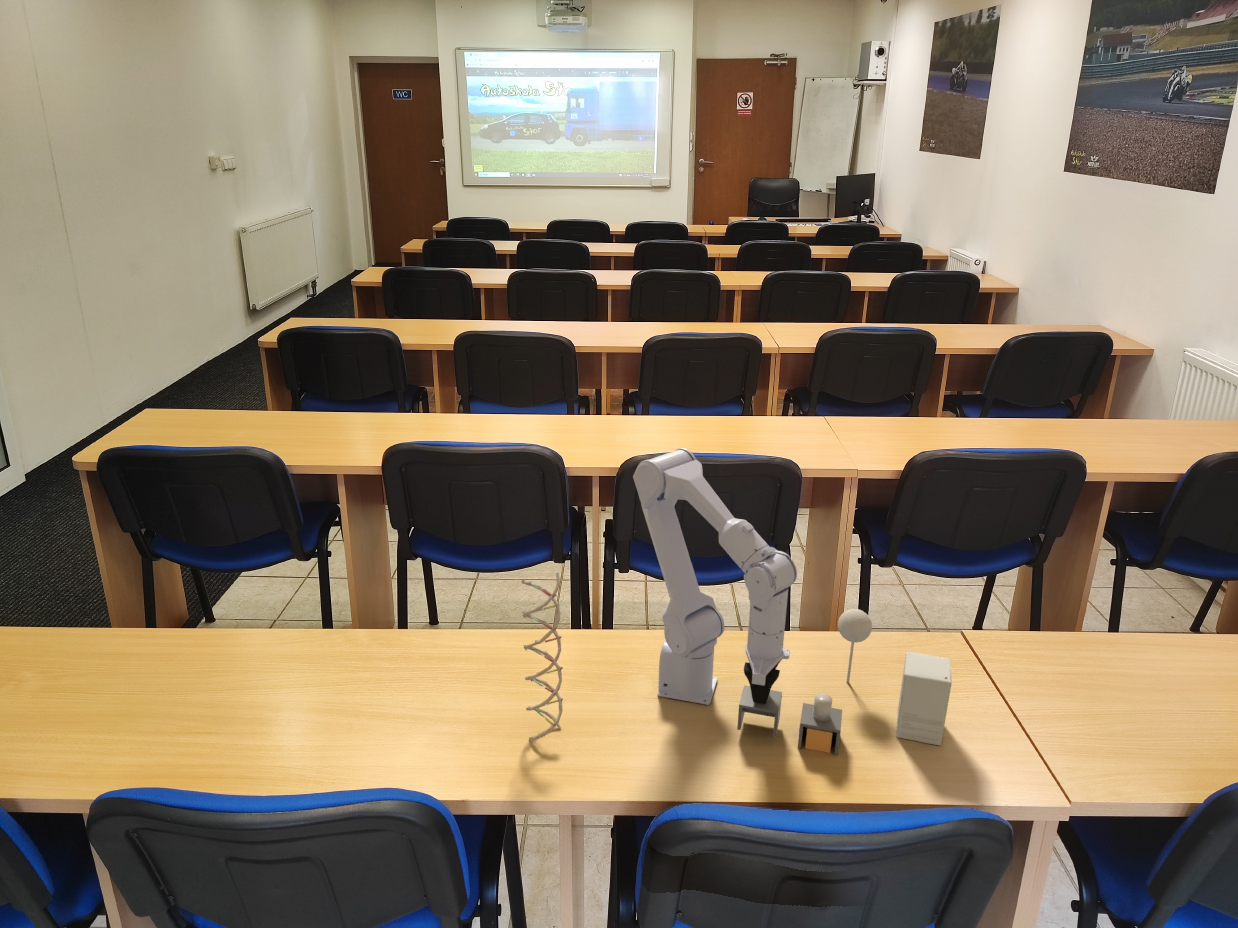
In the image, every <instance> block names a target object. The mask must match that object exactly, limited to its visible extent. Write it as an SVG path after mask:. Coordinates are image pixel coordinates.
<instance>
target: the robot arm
mask: <svg viewBox="0 0 1238 928" xmlns="http://www.w3.org/2000/svg"><path fill="white" fill-rule="evenodd" d="M703 474H704V472H703V465H702V463H701V462H700V461H699V460H698V459H697V458H696V456H695V455H694V453H692V451H691V450H689V449H688V448H684V447H679V448H677V449H675V450H673V451H670V452H667V453H665V454H661V455H659V456H656V457H653V458H650V459H645V460H642V461H640V462H639V463H638V465H637V467H636V469H635V472H634V473H633V475H632V478H633V481H634V485H635V488H636V491H637V493H638V494H637V495H638V498H639V501H640V505H641V509H642V512H643V516H644V518H645V519H644V520H645V522H646V525H647V528H648V531H649V534H650V538H651V540H652V544H653V547H654V551H655V553H656V554H655V555H656V558H657V560H658V564H659V567H660V571H661V573H662V574H661V575H662V577H663V580H664V583H665V584H664V585H665V587H666V589H667V594H668V596H669V601H668V604H667V606H666V608H665V609H664V611H663V613H662V615H661V616H662V620H663V625H664V626H663V627H664V630H663V631H664V632H663V634H664V639H665V640H664V641H663V643H662V645H661V649H660V654H659V655H660V656H659V665H658V691H657V696H658V697H662V698H668V699H673V700H677V701H679V700H680V701H685V702H691V703H695V704H701V705H706V706H709V705H710V704H712V703H711V702H712V699H713V695H714V692H715V689H716V686H717V682H718V677H716V676H713V675H714V674H713V673H714V660H715V659H714V655H715V646H716V645H717V644H718V638H719V637H721V636H722V635H723V634H724V632H725V627H726V626H725V620H724V618H723V615H722V614H721V612H720V611H719V609H718V608H717V605H716V603H715V600H714V598H713V597H712V596H710V595H709V594H706V593H704V592H702V591H701V590H700V587H699V583H698V579H697V577H696V573H695V569H694V566H693V563H692V561H691V558H690V554H689V551H688V547H687V545H686V541H685V538H684V533H683V532H682V528H681V524H680V521H679V517H678V516H677V515H678V514H677V512H676V508H675V505H676V504H677V502H678V501H679V500H681V501H682V500H683V501H687V502H688V503H689V504H690V505H691V506H692V507H693V508H694V509H695V510H696V511H697V512H698V513H699V514H700V515H701V516H702V517H703V518H704V519H705V520H706V521H707V522H708V523H709V525H711V527H713V528H714V529H715V531H717V532H718V544H719V545H720V546H721V547H722V549H723V550H724V551H725V552H726V553H727V555H729V557H730V558H731V559H732V561H733V562H734V563H735V564H736V565H737V566H738V567H739V568H740V570H742V571H743V573H744V574H743V581H744V584H745V587H746V588H747V591H748V600H749V612H748V613H749V615H748V616H749V617H748V627H747V628H748V630H747V641H746V642H747V643H746V645H745V654H746V658H747V660H748V662H746V661H745V663H744V666H743V673H744V676H745V677H746V678H747V681H748V684H749V686H750V688H751V694H752V699H753V702H755V703H760V704H766V702H767V700H768V697H769V693H770V690H772V687H773V685H774V684H775V682H776V681H777V680H778V678H779V676H780V672H781V671H780V669H777V667H778V665H779V664H780V663H781V662H782V660H789V659H790V656H791V655H790V653H791V649H788V648H785V647H784V640H785V639H784V638H785V627H786V620H787V619H786V617H787V608H788V607H787V606H788V596H789V588H790V587H791V586H792V585H794V583H795V582H796V580H797V577H798V571H797V566H796V564H795V562H794V560H793V559H792V558H791V556H790V555H789V554H788V553H786V552H784V551H782V550H777V549H776V547H773V546H770V545H769V544H768V543H767V542H766V541H765V540H764V539H763V538H762V536H761V535H760V534H759V533H758V531H757V530H755V528H754V526H753V525H752V524H751V523H750V522H748V521H747V520H746V519H742V518H741V519H740V518H736V517H734V515H733V514H732V513H731V512H730V510H729V509H728V508H727V506H726V504H724V502H723V501H722V500H721V498H720V497H719V496H718V494H717V493H716V492H715V491H714V489H713V488H712V486H711V484H710V483H709V482H708V481H707V480H706V478H705V477H704V475H703Z"/></svg>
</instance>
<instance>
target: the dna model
mask: <svg viewBox="0 0 1238 928" xmlns="http://www.w3.org/2000/svg"><path fill="white" fill-rule="evenodd" d="M555 577H556V585H555V587H554V590H553V592H552V593H551V592H549V591H548V590H547V589H546V588H544V587H542V586H540V585H537V584H536V583H533V582H532V581H527V580H525V579H521V584H524V585H526V586H530V587H533V589H537V591H540V592H541V593H543V594H544V595H546V596H548V598H547V600H545V601H544V602H541V604H539V605H538V606H536V607H535V608H533V609H530V610H528V611H525V610H524V611H521V613H522V617H523V618H524V619H526V618H528V619H531V620H534V621H536V622H537V623H538V624H539V623H540V624H542V625H543V626H544V627H546V628H548V629H549V631H548V632H547V633H546V634H544V635H543V636H542V637H541V638H540V639H535V640H534V642H532V643H530V644H529V643H528V644H523V645H522V646H523V649H524V650H525V651H528V650H530V651H532V652H535V653H536V654H537V655H540V656H542V657H543V658H545V659H546V660H548V661H549V662H551V663H550V664H549V666H547V667H546V668H544V669H543V670H541V671H539V672H536V673H534V674H531V675H528V676H525V677H524V680H525V681H530V682H534V683H536V684H537V685H539V686H540V687H543V688H544V689H545V690H546V691H548V692H550V693H551V694H550V695H549V697H547V698H546V699H545V700H544V701H542V702H540V703H539V704H538V703H537V704H535V705H534V706H527V707H526V708H525V711H528V712H529V711H535V712H536V713H537V714H538V715H540V716H541V717H543V718H544V719H545V721H547V722H548V723H549V724H550V725H551V726H550V727H549V728H548V729H546V730H545V731H544V732H541V733H538V734H537V735H533V736H531V737H528V741H534V740H535V741H536V740H537V739H541V738H543V737H545V736H547V735H548V734H550V733H551V732H552V731H553V730H554V729H555V728H556V727H557V728H558V730H561V728H562V727H561V725H560V720H561V717H562V714H563V700H564V698H562V697H561V696H560V693H559V691H560V690H561V686H562V682H563V675H562V670H563V669H564V667H563V666H560V664H559V663H558V660H559V658H560V655H561V652H562V641H561V638H563V637H562V636H561V635H559V633H558V631H557V629H558V626H559V625H560V621H561V608H560V604H559V603H560V602H558V600H557V598H556V597H557V596H558V595H557V592H558V591H559V588H560V585H561V580H560V579H561V578H560V573H559V572H556V573H555ZM551 601H552V603H553V604H554V605H550V606H548V605H549V604H550V602H551ZM546 606H547V607H546ZM552 608H555V609H556V615H555V618H554V619H555V620H554V625H553V626H552V625H551V624H550V623H549V622H548V621H546V620H544V619H542V618H541V617H538V616H534V615H533V614H534V613H536V612H540V611H544V610H548V609H552ZM552 634H553V635H554V636H555V637H554V638H550V636H551V635H552ZM548 638H550V639H548ZM552 641H556V643H557V653H556V655H555V657H553V656H552V655H551V654H549V653H548V650H542V649H540V648H539V647H535V646H537V645H541V644H543V643H549V642H552ZM554 667H555V669H552V668H554ZM554 672H557V676H558V683H557V684H556V687H555V688H554V687H553V686H552V685H550V683H548V681H545V680H544V679H541V678H539V677H541V676H544V675H547V674H551V673H554ZM555 696H556V698H557V699H555V700H553V699H554V698H555ZM552 700H553V701H552ZM556 703H558V715H557V717H555V716H554V715H552V713H550V712H548V711H546V710H545V709H541V708H542V707H544V706H548V705H552V704H556ZM546 716H547V717H546ZM548 717H549V718H548ZM549 719H551V720H552V721H551V720H549Z"/></svg>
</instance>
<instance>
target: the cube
mask: <svg viewBox="0 0 1238 928" xmlns="http://www.w3.org/2000/svg"><path fill="white" fill-rule="evenodd" d="M832 733H833V732H832V731H826V730H820V729H815V728H809V727H807V730H806V736H805V746H804V748H805V749H809V750H814V751H819V752H826V753H831V748H832V742H833V740H832V739H833V735H832Z"/></svg>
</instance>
